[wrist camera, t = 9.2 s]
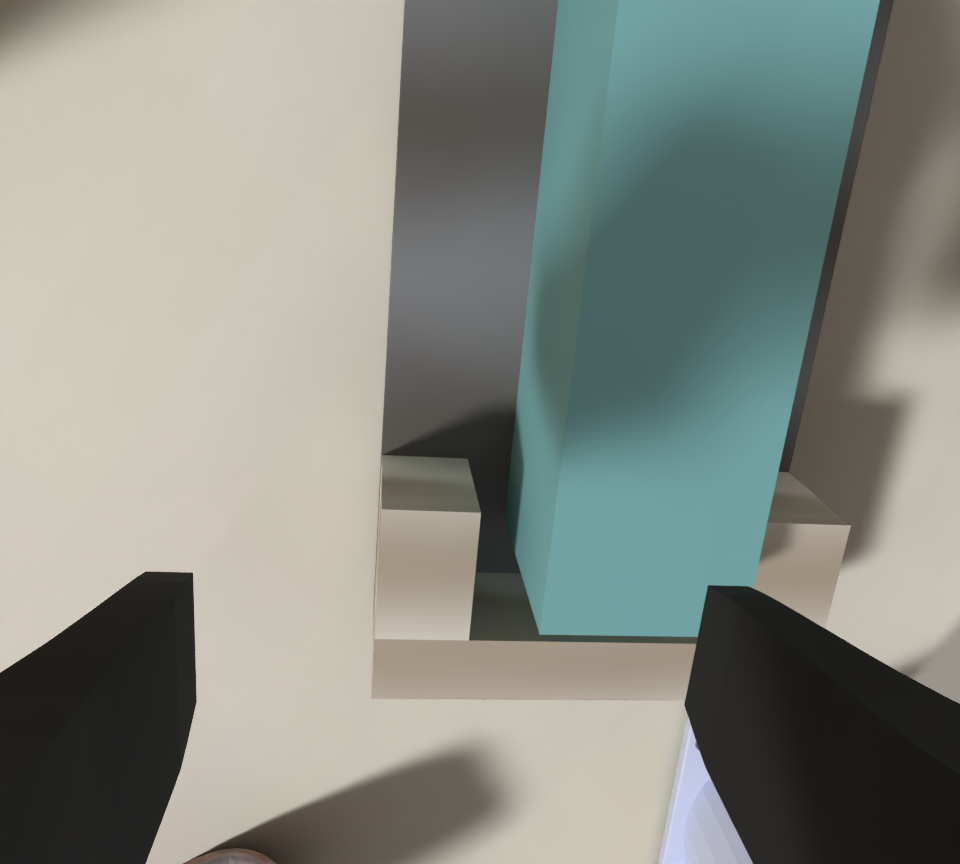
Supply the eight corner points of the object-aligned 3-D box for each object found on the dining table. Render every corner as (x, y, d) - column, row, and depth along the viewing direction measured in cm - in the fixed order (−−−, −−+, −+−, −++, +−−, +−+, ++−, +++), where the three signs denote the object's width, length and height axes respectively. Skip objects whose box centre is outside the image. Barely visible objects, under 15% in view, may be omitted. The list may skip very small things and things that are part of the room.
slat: (663, 524, 21) (742, 637, 16) (504, 519, 21) (539, 634, 16) (796, -251, 16) (968, -408, 11) (587, -284, 15) (676, -461, 11)
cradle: (739, 609, 23) (806, 701, 20) (373, 602, 22) (371, 698, 18) (953, -397, 16) (1124, -554, 12) (429, -494, 15) (445, -701, 11)
